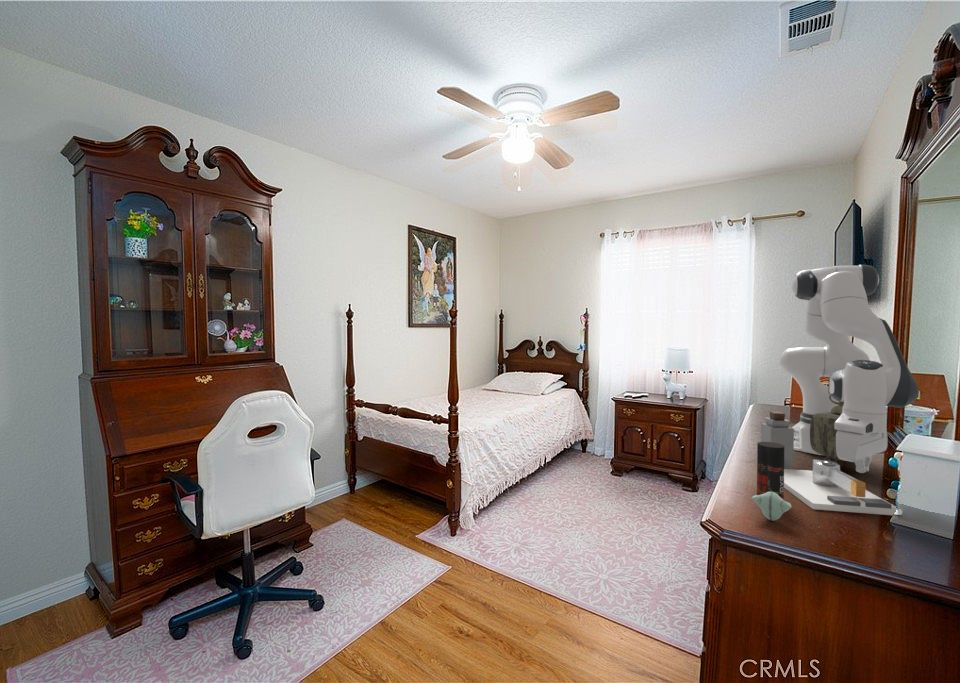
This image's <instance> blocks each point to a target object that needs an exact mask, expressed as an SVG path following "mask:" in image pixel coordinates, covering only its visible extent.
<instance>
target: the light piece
mask: <svg viewBox="0 0 960 683" xmlns="http://www.w3.org/2000/svg"><path fill="white" fill-rule="evenodd" d="M811 471H812V481H813V482H814V483H817V484H820V485H824V486H830V487H838V486H840V487H841V488H843V489H845V490H847V491H848V492H850V493H851V494H852V495H854V496H856V497H865V490H867V489H866V482H864V481H862V480H859V479H857V478H855V477H853V476H851V475H849V474H847V473H846V472H843V471H842V470H841V465H840V464H839V463H838V462H837V463H836V462H834V461H832V460H830V461H828V460H824V459H823V460H821V459H812V470H811Z"/></svg>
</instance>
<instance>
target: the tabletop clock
mask: <svg viewBox="0 0 960 683" xmlns="http://www.w3.org/2000/svg"><path fill="white" fill-rule="evenodd" d="M829 399H830V401H831V402H833V403H835V404H837V405H839V406H834V407H833V408H832V409H831V412H827V413H817V414H814V415H813V417H812V419H811V423H810V444H811V447H812V449H813V450H814V451H816V452H817V453H819V454H822V455H821V456H824V455H825V457H824V458H823V460H828V461H831V459H834V461H833V462H836V463H837V464H838V461H842V460H841V459H839V458H838V456H837V453H836V433H837V431H838V430H837V429H835V428H834V423H835V421H836V420H837V419H838V418H839V417H840V416H841V414H842V408H843V405H844V402H841V401H839V403H838V402H835V401H833V400H831V395H830V396H829ZM843 462H846V461H845V460H843Z"/></svg>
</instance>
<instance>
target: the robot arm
mask: <svg viewBox="0 0 960 683" xmlns="http://www.w3.org/2000/svg"><path fill="white" fill-rule="evenodd" d="M879 283H880V277H879V274H878V270H877V269H876V268H875V267H874V266H872V265H868V264H858V265H847V264H845V265H833V266H827V267H818V268H813V269H811V268H809V269H804V270H800V271H798V272H797V273H796V274H795V276H794V278H793V280H792V284H791V288H792V291H793V294H794V296H795V297H796V298H797V299H799V300H802V301H807V303H806V311H805V313H806V315H805V316H806V317H805V332H806V334H808V336H809V337H811V338H813V339H815V340H818V341H821V342H822V343H824V344H825V346H798V347H791V348H790V347H789V348H786V349H785V350H784V351H783V352H782V353H781V355H780V357H779V364H780V367H781V369H782V370H783V371H784V372H785V373H786V374H788V375H789V376H791V377H792V379H794V380H795V381H796V383H797V384H798V386H799V387H800V391H801V394H802V411H800V414H799V416H800V418H799V422H798V423H796V424H794V425H793V426H792V427H791V428H793V429H794V451H797V452H803V453H808V454H811V455H812V454H813V455H818V456H825V455H822V454H819V453H817V452H816V451H814V450H813V449H812V447H811V444H810V423H811V419H812V417H813V415H814V414H817V413H827V412H831V409H832V408H833V407H834V406H839V405H837V404H835V403H833V402H831V401H830V399H829V396H830V395H831V400H833V401H835V402H838V403H839V401H841V402H843V403H844V405H843V408H842V414H841V416H840V417H839V418H838V419H837V420H836V421H835V423H834V428H835V429H837V430H838V431H837V433H836V453H837V456H838V458H839V459H841V460H840V461H844V460H845V461H844V462H851V463H854V465H855V471H856V472H857V473H859V474H864V473H867V472H869V471H870V465H871V462H872V459H873V456H874V455H877V454H880V453H883V452H885V451H887V448H888V431H887V430H888V429H887V426H888V425H887V423H888V422H887V420H888V414H887V413H888V410H887V407H893V408H899V409H900V408H901V409H902V408H905V407H907V406H909V405H911V404H912V403H914V402H915V401H916V400H917V399H918V396H919V386H918V383H917V381H916V378H915V377H914V376H913V374H912V372H911V371H910V369H909V366H908V364H907V363H906V360H905V358H904V356H903V354H902V351H901V349H900V346H899V344H898V342H897V339H896V337H895V335H894V333H893V331H892V329H891V327H890V325H889V324H888V322H887V320H885V319H882V318H881V317H878V316H877V315H876V314H875V313H874V312H873V311H872V309H871V307H870V306H869V301H868V296H871V295H872V294H873V293H875V292H876V291H877V289H878V286H879ZM849 337H852V338H856V339H858V340H861V341H864V342H867V343H869V345H871V346H872V347H873V348H874V349H875V350H876V353H877V356H878V358H879V360H880V362H879V361H874V360H870V357H869V356H868V354H867V353H866V352H865V351H864V350H863V349H861V348H860V347H857V346H856V345H855V344H854V343H853V342H852V341H851V340H850V338H849ZM822 377H825V378H828V385H826V384H824V383H822V382H821V380H820V378H822ZM825 457H826V456H825ZM839 459H838V460H839Z"/></svg>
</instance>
